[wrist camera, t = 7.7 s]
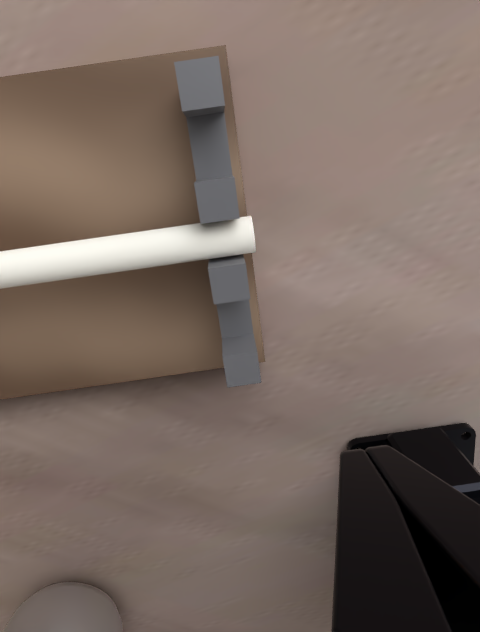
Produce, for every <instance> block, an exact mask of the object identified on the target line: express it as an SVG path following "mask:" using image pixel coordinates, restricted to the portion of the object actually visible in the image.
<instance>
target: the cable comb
mask: <svg viewBox="0 0 480 632" xmlns="http://www.w3.org/2000/svg"><path fill="white" fill-rule="evenodd" d="M174 65H175V71H176V77H177V83H178V89H179V95H180V101H181V107H182V112H183V113H184V115H185V116H186V119H187V125H188V131H189V138H190V144H191V150H192V156H193V162H194V168H195V175H196V181H195V182H194V187H195V193H196V199H197V205H198V211H199V217H200V223H201V224H204V223H211V222H218V221H225V220H232V219H239V218H240V216H239V208H238V201H237V193H236V185H235V178H234V176H233V175H232V167H231V160H230V152H229V145H228V137H227V129H226V122H225V114H224V110H225V101H224V94H223V86H222V78H221V71H220V63H219V56H213V57H206V58H199V59H192V60H185V61H178V62H174ZM208 272H209V278H210V284H211V290H212V296H213V303H214V304H216V305H217V311H218V317H219V323H220V329H221V335H222V357H223V364H224V370H225V376H226V382H227V387H234V386H241V385H248V384H255V383H261V376H260V369H259V361H258V353H257V348H256V343H255V338H254V334H253V326H252V319H251V311H250V303H249V299H250V292H249V285H248V277H247V269H246V263H245V259H244V255H243V254H241V255H234V256H227V257H220V258H213V259H209V263H208Z"/></svg>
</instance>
